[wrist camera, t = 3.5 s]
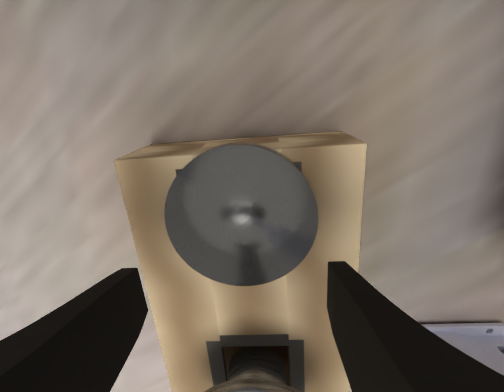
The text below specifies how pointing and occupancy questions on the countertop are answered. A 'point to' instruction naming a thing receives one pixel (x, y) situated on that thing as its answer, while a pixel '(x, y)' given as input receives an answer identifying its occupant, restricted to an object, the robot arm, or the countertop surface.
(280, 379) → the peg
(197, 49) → the countertop surface
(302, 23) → the countertop surface
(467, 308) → the countertop surface
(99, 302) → the robot arm
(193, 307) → the block
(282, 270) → the peg
